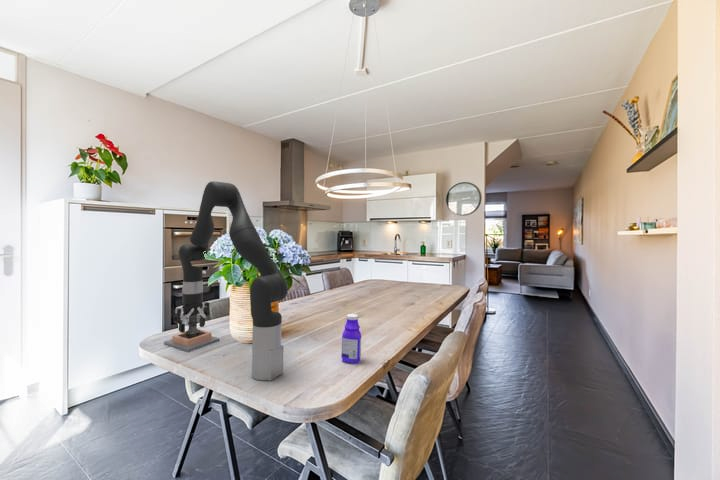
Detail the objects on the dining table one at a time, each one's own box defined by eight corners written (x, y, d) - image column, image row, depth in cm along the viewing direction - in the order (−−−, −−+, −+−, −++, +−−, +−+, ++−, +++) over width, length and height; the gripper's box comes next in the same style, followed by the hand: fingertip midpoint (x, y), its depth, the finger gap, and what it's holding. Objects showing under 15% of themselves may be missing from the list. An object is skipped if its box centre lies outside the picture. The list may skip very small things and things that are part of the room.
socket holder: (219, 340, 125) (219, 332, 125) (187, 352, 113) (188, 343, 113) (195, 334, 132) (196, 326, 132) (163, 344, 120) (163, 336, 120)
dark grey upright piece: (193, 343, 119) (193, 314, 119) (181, 341, 120) (181, 313, 120) (203, 338, 125) (204, 310, 125) (191, 337, 126) (192, 309, 126)
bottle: (362, 359, 110) (363, 314, 110) (358, 365, 105) (359, 318, 105) (344, 356, 113) (345, 312, 112) (339, 362, 107) (340, 316, 107)
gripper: (181, 295, 114) (181, 336, 114) (213, 289, 127) (213, 326, 127) (170, 293, 117) (169, 332, 118) (202, 287, 130) (202, 323, 130)
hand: (192, 329), depth 122 cm, fingers open, 8 cm apart
